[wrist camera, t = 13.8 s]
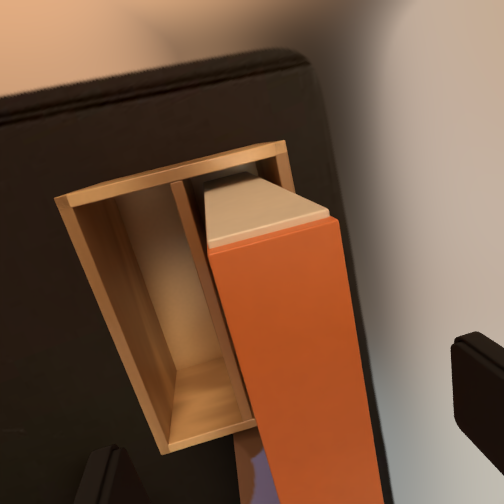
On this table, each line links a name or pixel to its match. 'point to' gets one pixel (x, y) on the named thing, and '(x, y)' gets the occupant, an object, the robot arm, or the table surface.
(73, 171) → the table surface
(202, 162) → the book rack
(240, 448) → the cereal box
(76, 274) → the table surface
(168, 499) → the table surface
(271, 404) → the book
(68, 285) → the table surface
